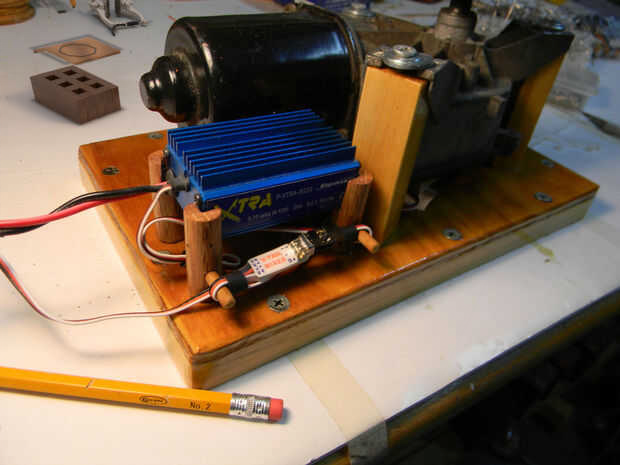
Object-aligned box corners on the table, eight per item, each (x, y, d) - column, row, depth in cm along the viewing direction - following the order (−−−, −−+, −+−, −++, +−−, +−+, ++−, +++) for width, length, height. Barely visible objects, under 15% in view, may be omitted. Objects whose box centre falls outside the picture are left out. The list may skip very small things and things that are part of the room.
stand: (81, 128, 92) (75, 100, 89) (36, 104, 97) (29, 76, 93) (121, 113, 99) (118, 86, 95) (77, 91, 104) (72, 64, 100)
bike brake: (83, 10, 141) (113, 43, 133) (81, -14, 136) (112, 19, 128) (127, 7, 149) (158, 38, 141) (127, -15, 144) (159, 16, 136)
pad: (66, 67, 112) (65, 64, 112) (33, 52, 116) (33, 49, 116) (120, 52, 123) (120, 50, 123) (89, 39, 127) (88, 36, 127)
